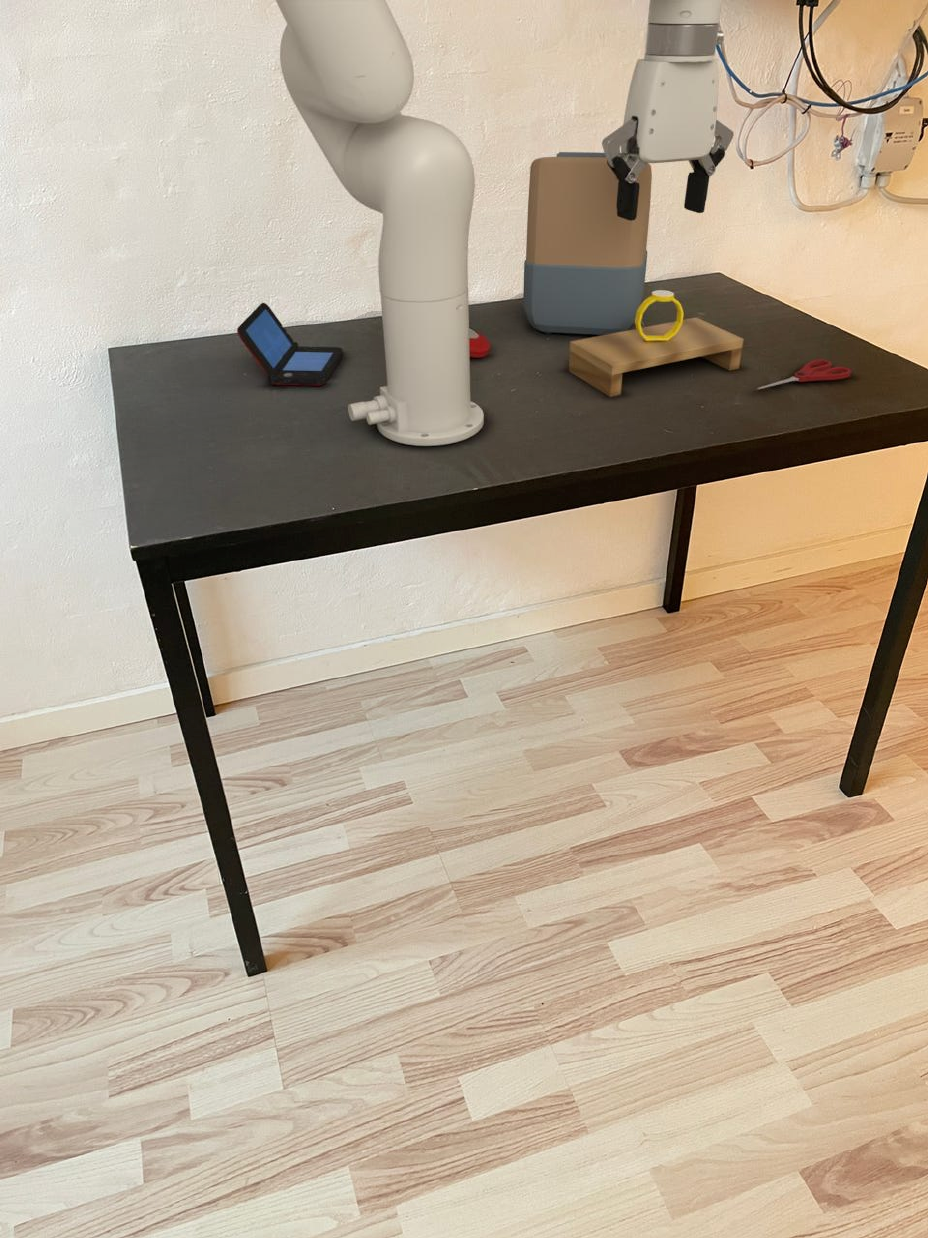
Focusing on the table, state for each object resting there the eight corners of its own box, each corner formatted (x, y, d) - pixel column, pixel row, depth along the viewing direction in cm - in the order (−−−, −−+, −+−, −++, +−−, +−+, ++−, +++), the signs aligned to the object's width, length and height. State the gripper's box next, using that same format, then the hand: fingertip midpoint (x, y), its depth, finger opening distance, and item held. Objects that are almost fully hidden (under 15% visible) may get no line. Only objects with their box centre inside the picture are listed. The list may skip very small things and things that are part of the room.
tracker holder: (506, 345, 123) (446, 343, 117) (496, 374, 126) (437, 373, 120) (462, 303, 130) (404, 299, 124) (453, 331, 132) (396, 329, 127)
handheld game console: (324, 388, 115) (318, 331, 111) (243, 386, 116) (233, 329, 112) (345, 354, 125) (340, 300, 121) (271, 353, 126) (262, 299, 122)
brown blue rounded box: (643, 308, 139) (659, 140, 125) (634, 344, 126) (651, 161, 112) (537, 303, 142) (541, 139, 128) (518, 337, 129) (520, 159, 115)
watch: (637, 345, 114) (642, 297, 110) (630, 338, 116) (635, 291, 112) (682, 341, 114) (688, 294, 111) (674, 334, 117) (680, 287, 113)
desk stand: (609, 397, 111) (612, 365, 108) (568, 371, 118) (570, 341, 116) (738, 368, 117) (743, 338, 115) (692, 345, 125) (695, 317, 122)
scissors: (853, 377, 114) (855, 369, 113) (772, 399, 108) (774, 392, 108) (820, 364, 117) (822, 356, 117) (741, 385, 112) (742, 377, 112)
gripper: (723, 40, 102) (700, 202, 112) (593, 44, 96) (581, 214, 106) (767, 43, 97) (738, 214, 107) (632, 47, 91) (616, 227, 101)
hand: (660, 214), depth 106 cm, fingers open, 9 cm apart
